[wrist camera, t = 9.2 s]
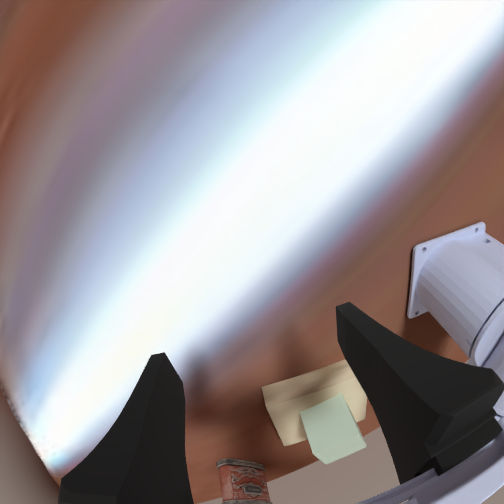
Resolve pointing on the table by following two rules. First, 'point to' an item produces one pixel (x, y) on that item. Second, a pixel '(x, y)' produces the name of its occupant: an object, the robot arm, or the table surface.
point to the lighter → (242, 482)
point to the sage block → (332, 429)
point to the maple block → (311, 398)
